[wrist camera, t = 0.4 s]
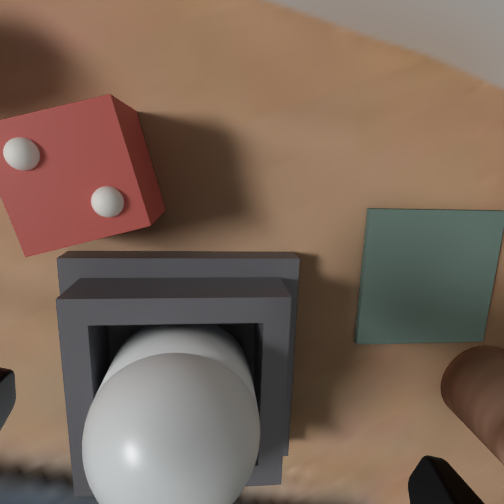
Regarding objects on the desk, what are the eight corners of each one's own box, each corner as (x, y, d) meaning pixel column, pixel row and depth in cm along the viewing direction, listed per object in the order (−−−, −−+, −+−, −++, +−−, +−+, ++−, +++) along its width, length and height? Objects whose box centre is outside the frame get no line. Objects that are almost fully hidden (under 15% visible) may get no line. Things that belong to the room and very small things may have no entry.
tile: (478, 338, 24) (482, 341, 23) (354, 341, 23) (356, 344, 23) (501, 210, 22) (506, 211, 22) (367, 208, 21) (370, 209, 21)
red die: (165, 209, 20) (148, 228, 15) (71, 233, 20) (17, 261, 14) (136, 111, 19) (105, 91, 13) (35, 135, 18) (-38, 124, 13)
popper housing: (283, 437, 24) (299, 499, 20) (84, 447, 23) (54, 515, 18) (293, 252, 21) (314, 275, 17) (68, 251, 20) (27, 276, 16)
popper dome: (249, 439, 20) (268, 579, 13) (113, 445, 19) (60, 598, 13) (253, 315, 19) (277, 404, 12) (104, 317, 18) (39, 414, 11)
